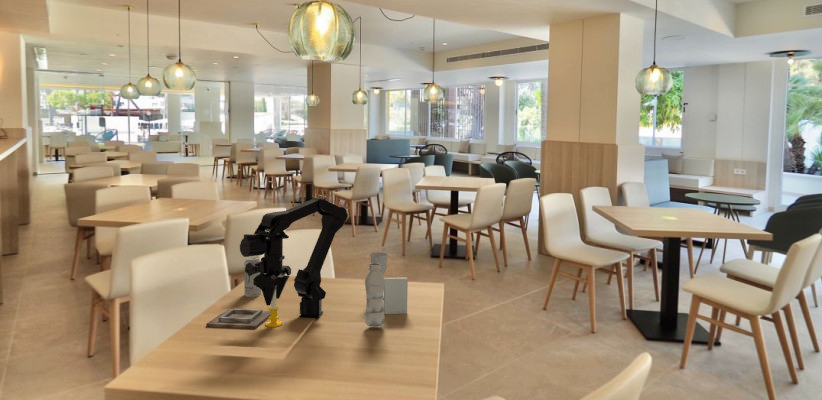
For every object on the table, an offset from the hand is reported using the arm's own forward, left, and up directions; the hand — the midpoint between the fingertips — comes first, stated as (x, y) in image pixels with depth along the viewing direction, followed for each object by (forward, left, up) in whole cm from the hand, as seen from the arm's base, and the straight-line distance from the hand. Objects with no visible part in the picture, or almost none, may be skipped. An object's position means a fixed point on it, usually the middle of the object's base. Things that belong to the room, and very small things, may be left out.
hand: (272, 301), depth 173 cm
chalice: (-29, -32, -8) cm, 44 cm away
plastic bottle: (-32, -3, -8) cm, 33 cm away
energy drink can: (+19, -31, -8) cm, 37 cm away
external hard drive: (-37, -18, -8) cm, 42 cm away
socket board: (+12, -3, -7) cm, 14 cm away
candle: (0, 0, -8) cm, 8 cm away
